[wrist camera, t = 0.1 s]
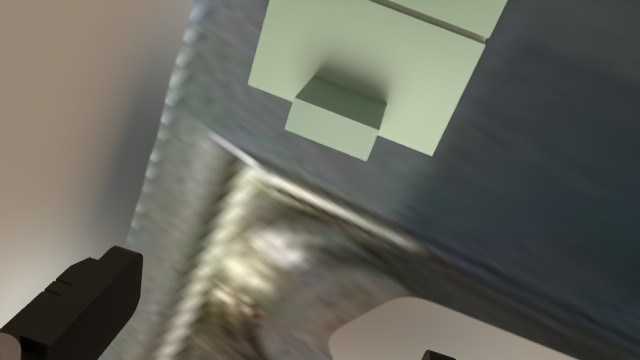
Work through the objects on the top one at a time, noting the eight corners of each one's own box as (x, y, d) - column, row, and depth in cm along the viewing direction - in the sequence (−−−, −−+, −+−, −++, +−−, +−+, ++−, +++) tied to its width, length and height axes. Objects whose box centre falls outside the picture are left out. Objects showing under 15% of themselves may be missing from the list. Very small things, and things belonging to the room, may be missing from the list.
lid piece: (286, -36, 31) (251, -29, 25) (483, 39, 31) (494, 64, 25) (256, 77, 35) (218, 107, 29) (432, 145, 34) (431, 190, 28)
